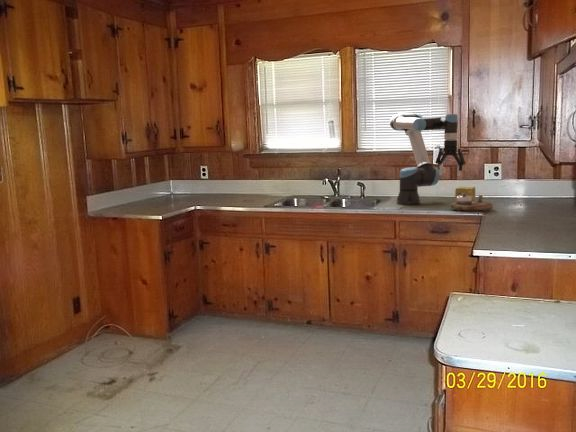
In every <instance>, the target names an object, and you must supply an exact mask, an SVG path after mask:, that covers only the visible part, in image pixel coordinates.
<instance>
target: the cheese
mask: <svg viewBox="0 0 576 432" xmlns="http://www.w3.org/2000/svg"><path fill="white" fill-rule="evenodd" d="M454 192H455V193H454V201H455V202H456V196H459V195H462V194H463V193H465V194H466V195H469V196H472V201H475V200H476V186H458V187H456V188H455V191H454Z"/></svg>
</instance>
